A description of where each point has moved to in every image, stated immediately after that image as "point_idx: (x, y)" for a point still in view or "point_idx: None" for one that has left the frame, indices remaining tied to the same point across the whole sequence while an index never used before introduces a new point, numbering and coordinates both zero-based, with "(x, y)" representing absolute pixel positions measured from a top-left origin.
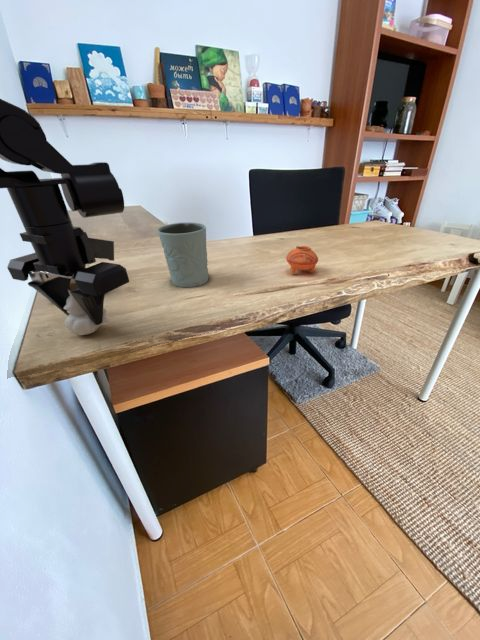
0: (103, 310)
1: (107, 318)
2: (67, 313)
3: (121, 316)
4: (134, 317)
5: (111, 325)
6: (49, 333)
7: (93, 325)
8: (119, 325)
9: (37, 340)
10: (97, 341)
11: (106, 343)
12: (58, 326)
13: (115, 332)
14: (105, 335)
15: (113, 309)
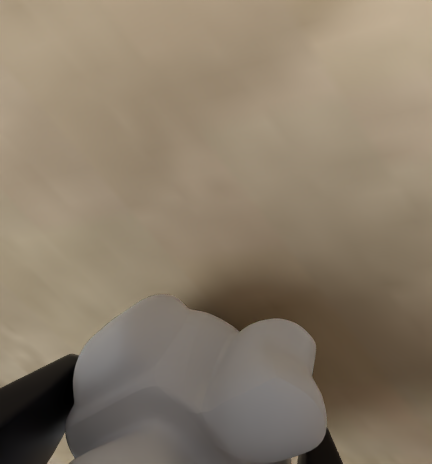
0: (317, 442)
1: (311, 349)
2: (54, 449)
3: (282, 118)
4: (423, 106)
5: (295, 266)
6: (29, 371)
7: (289, 460)
8: (359, 258)
9: None
10: (332, 434)
11: (404, 452)
12: (3, 310)
13: (387, 346)
14: (339, 380)
15: (121, 12)
